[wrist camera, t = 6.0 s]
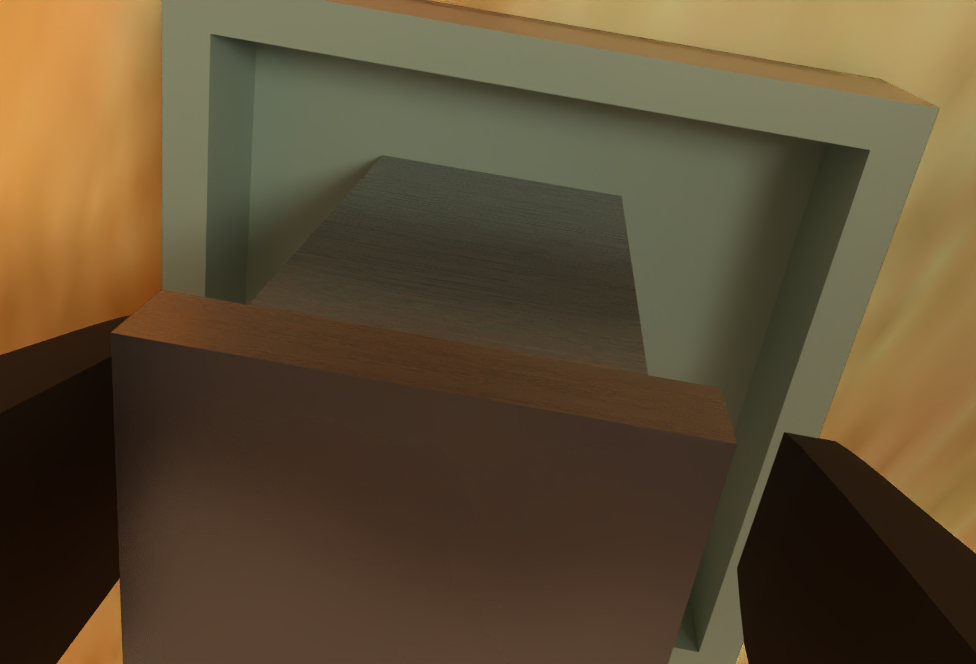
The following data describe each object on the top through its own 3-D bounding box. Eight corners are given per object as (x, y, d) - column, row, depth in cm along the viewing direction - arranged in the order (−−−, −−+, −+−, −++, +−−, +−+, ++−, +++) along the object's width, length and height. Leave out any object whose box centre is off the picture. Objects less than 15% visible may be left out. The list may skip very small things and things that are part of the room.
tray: (881, 79, 12) (939, 108, 10) (709, 593, 16) (726, 687, 14) (229, -35, 12) (162, -28, 10) (214, 499, 16) (162, 579, 14)
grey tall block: (655, 173, 13) (736, 442, 6) (596, 430, 14) (607, 859, 8) (357, 122, 13) (112, 332, 6) (335, 385, 14) (126, 767, 8)
